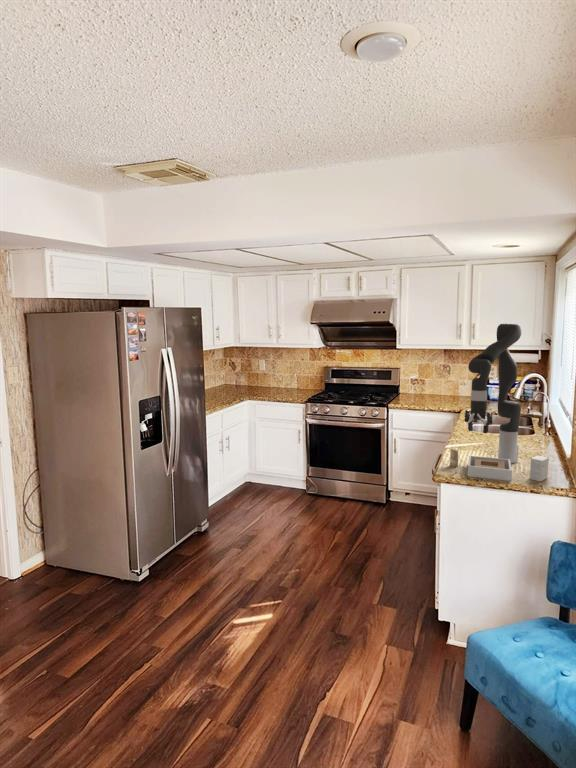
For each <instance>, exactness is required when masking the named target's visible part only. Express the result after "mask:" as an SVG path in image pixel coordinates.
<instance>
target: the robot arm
mask: <svg viewBox="0 0 576 768" xmlns="http://www.w3.org/2000/svg"><path fill="white" fill-rule="evenodd" d="M521 336H522V327H521V325H519V324H517V323H500V324H499V325H498V326H497V328H496V341H495V342H493V343H491V344H490V345H488V346H487V347H486V348H485V349H484V351H482V352H481V353H479V354H478V355H476V356H474V357H473V358H471V359H470V361H469V363H468V366H467V367H468V370H469V372H471V374H479V376H478V377H476V378H472V380H471V392H470V409H466V410H465V412H464V422H465V423H467V430H468V431H469V432H472V431H473V425H474V424H473V423H474V421H480V423H482V424H483V434H488V432H489V426H490V425H491V426H492V425H493V412H491V411H490V412H487V408H488V405H487V404H488V392H487V389H488V387H487V385H488V379H489V377H490V374H491V371H492V364H493V363H494V362H495V361H496V360H497V358H498V369H497V370H498V371H497V372H498V375H497V376H498V397H497V398H498V399H497V414H498V416H499V417H501V418H506V419H510V420H509V421H508V422H506V423H501V424H499V435H498V438H499V439H498V453H497V458H501V459H510V462H511V464H515V463H517V461H518V459H519V449H520V448H519V447H520V446H519V444H518V438H519V437H518V436H519V428H520V420H521V412H522V406H521V404H520V402H518V401H511V400H508V395H509V394H508V393H509V392H510V390H511V388H512V386H513V385H514V384H515V383H516V381H517V379H518V364H517V363H516V361H515V359H514V358H513V356H512V354H511V353H510V350H509V348H510V347H511V346H512V345H514V344H515V343H517V342H518V341H519V339H521Z"/></svg>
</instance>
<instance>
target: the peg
mask: <svg viewBox="0 0 576 768" xmlns="http://www.w3.org/2000/svg"><path fill="white" fill-rule="evenodd" d="M459 451H460V450H459V449H456V448H451V449H450V454H449V455H450V457H449V467H450V468H452V467H453V468H452V469H456V467H457V468H458V466H459Z"/></svg>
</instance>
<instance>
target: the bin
mask: <svg viewBox="0 0 576 768" xmlns="http://www.w3.org/2000/svg"><path fill="white" fill-rule="evenodd" d="M512 472H513V468H512V463H511V462H510V459H501V458H498V457H488V456H480V455H479V456H478V455H476V456H475V455H469V456H468V465H467V476H466V477H467V478H475V477H478V478H477V479H485V480H496V481H504V482H512V476H513V475H512Z"/></svg>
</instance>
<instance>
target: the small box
mask: <svg viewBox="0 0 576 768" xmlns="http://www.w3.org/2000/svg"><path fill="white" fill-rule="evenodd" d="M529 469H530V470H529V480H531V481H532V480H533V481H536V482H540V481H541V482H542V481H545V480H546V479H547V478H548V470H549V457H547V456H541V455H535V456H533V457H531V458H530V468H529Z"/></svg>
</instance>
